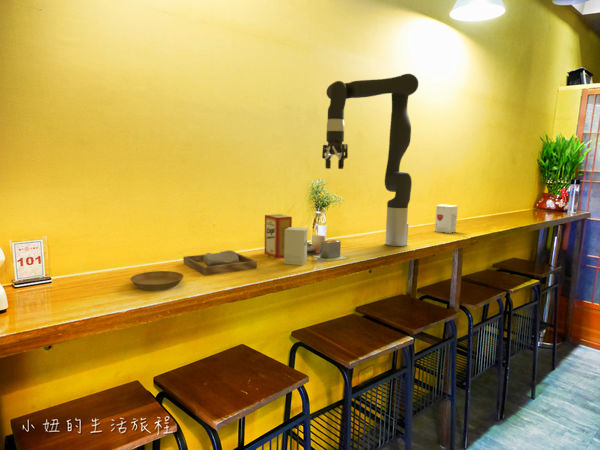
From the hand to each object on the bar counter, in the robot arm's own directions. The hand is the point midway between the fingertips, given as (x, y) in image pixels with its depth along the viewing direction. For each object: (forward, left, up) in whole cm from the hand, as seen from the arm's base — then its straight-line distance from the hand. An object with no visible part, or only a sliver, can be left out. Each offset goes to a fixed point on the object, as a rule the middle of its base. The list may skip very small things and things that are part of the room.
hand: (334, 168), depth 182 cm
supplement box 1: (+32, +18, -34) cm, 50 cm away
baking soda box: (+31, +4, -34) cm, 46 cm away
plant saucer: (+83, +21, -35) cm, 92 cm away
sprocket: (+16, +4, -34) cm, 38 cm away
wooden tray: (+58, +9, -34) cm, 68 cm away
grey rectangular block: (+16, +18, -34) cm, 41 cm away
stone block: (+56, +6, -35) cm, 66 cm away
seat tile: (+16, +18, -34) cm, 42 cm away
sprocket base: (+16, +4, -34) cm, 38 cm away
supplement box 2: (-83, -1, -34) cm, 90 cm away
